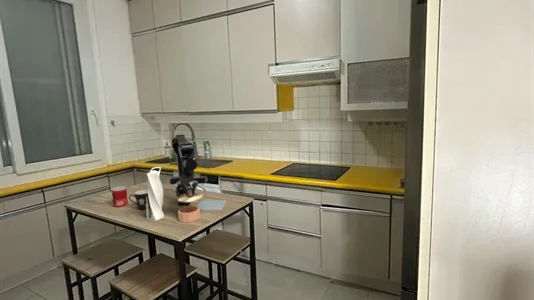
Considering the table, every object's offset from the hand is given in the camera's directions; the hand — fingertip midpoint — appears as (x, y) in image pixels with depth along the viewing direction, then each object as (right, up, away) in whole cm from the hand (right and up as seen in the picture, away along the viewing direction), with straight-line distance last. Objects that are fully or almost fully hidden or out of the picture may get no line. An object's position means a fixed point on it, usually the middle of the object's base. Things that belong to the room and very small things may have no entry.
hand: (190, 195), depth 156 cm
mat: (+8, -9, +19) cm, 22 cm away
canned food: (-49, -10, +25) cm, 56 cm away
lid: (0, -2, 0) cm, 2 cm away
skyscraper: (-18, -13, +3) cm, 23 cm away
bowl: (-1, -12, +1) cm, 12 cm away
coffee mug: (-33, -10, +19) cm, 40 cm away
